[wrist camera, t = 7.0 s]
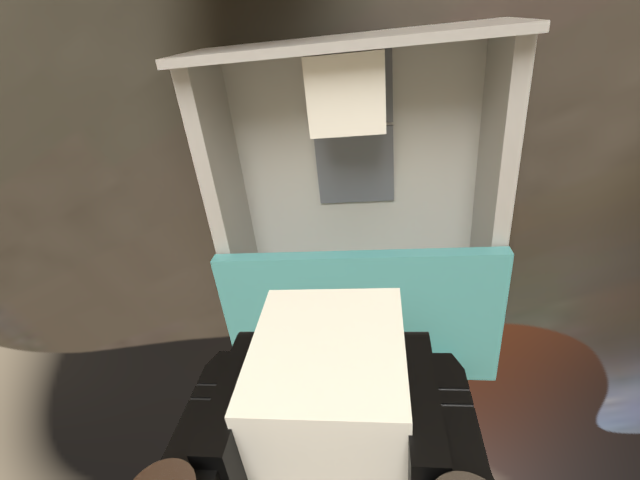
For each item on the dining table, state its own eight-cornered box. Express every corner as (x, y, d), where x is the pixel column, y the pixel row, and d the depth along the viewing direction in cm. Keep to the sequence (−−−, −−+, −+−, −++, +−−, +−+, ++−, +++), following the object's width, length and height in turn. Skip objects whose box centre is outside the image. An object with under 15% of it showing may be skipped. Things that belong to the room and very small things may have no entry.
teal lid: (215, 254, 23) (196, 283, 20) (509, 246, 20) (527, 278, 18) (243, 366, 27) (230, 402, 24) (492, 369, 24) (505, 409, 22)
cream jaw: (269, 290, 11) (224, 417, 8) (399, 287, 11) (412, 423, 7) (287, 379, 13) (256, 516, 10) (400, 381, 13) (411, 526, 9)
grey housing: (209, 46, 23) (155, 59, 17) (501, 16, 20) (550, 20, 15) (263, 311, 31) (239, 377, 26) (472, 309, 29) (496, 382, 24)
